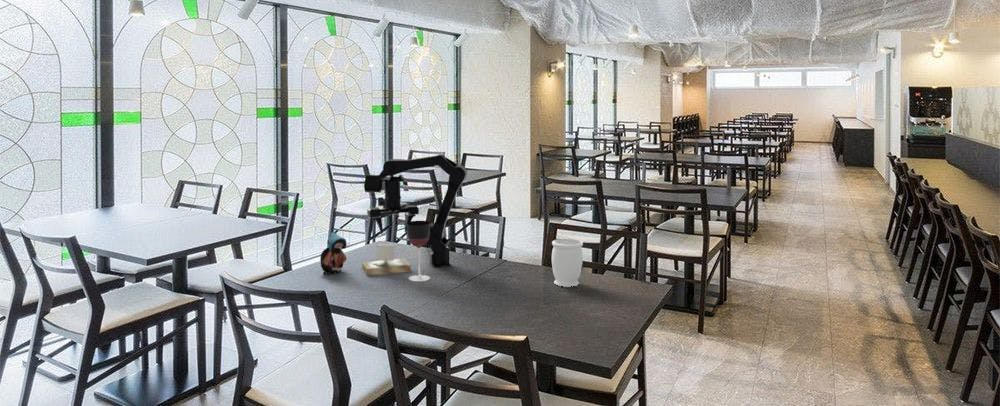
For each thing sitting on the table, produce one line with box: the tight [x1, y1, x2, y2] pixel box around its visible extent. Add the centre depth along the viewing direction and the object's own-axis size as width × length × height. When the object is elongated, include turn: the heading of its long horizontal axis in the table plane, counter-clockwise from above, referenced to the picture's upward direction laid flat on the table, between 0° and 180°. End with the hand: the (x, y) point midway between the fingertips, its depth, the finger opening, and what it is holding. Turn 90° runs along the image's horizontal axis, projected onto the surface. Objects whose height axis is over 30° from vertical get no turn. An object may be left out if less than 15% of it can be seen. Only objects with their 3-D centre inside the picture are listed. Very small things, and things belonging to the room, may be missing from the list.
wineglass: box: [406, 220, 431, 282], centre depth 227 cm, size 8×9×20 cm
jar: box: [551, 238, 584, 288], centre depth 221 cm, size 11×10×15 cm
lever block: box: [361, 257, 412, 277], centre depth 238 cm, size 16×10×3 cm, turn 112°
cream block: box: [376, 243, 395, 266], centre depth 235 cm, size 6×6×7 cm
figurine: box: [319, 230, 348, 276], centre depth 234 cm, size 10×7×15 cm
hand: (393, 233), depth 246 cm, fingers open, 9 cm apart
